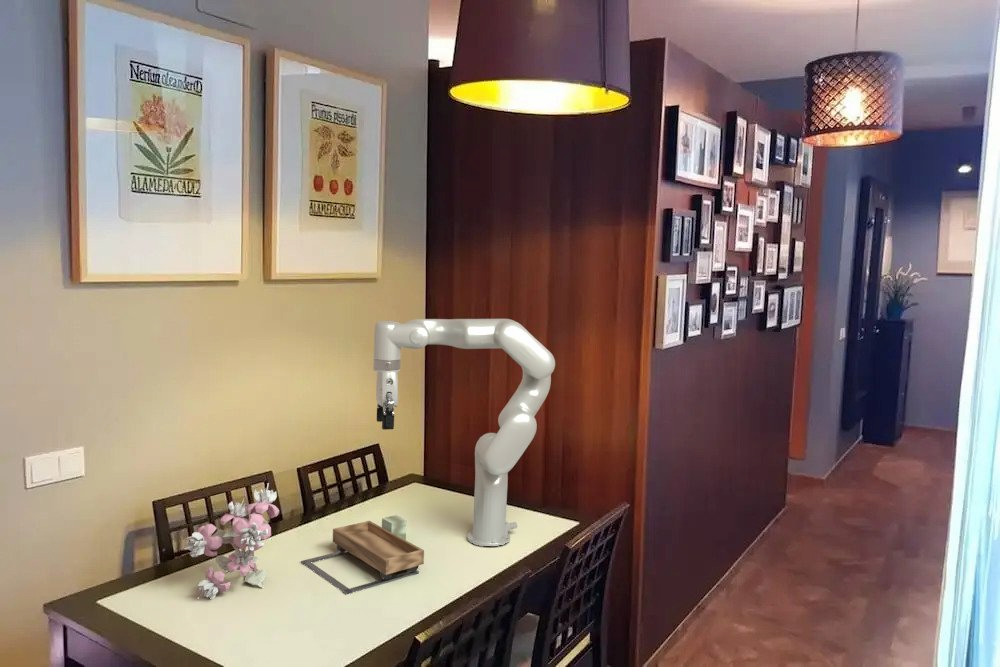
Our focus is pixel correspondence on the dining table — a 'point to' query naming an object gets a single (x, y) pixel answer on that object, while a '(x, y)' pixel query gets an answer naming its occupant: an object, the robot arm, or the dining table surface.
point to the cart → (378, 548)
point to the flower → (235, 542)
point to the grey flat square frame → (343, 587)
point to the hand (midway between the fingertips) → (384, 425)
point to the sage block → (395, 525)
